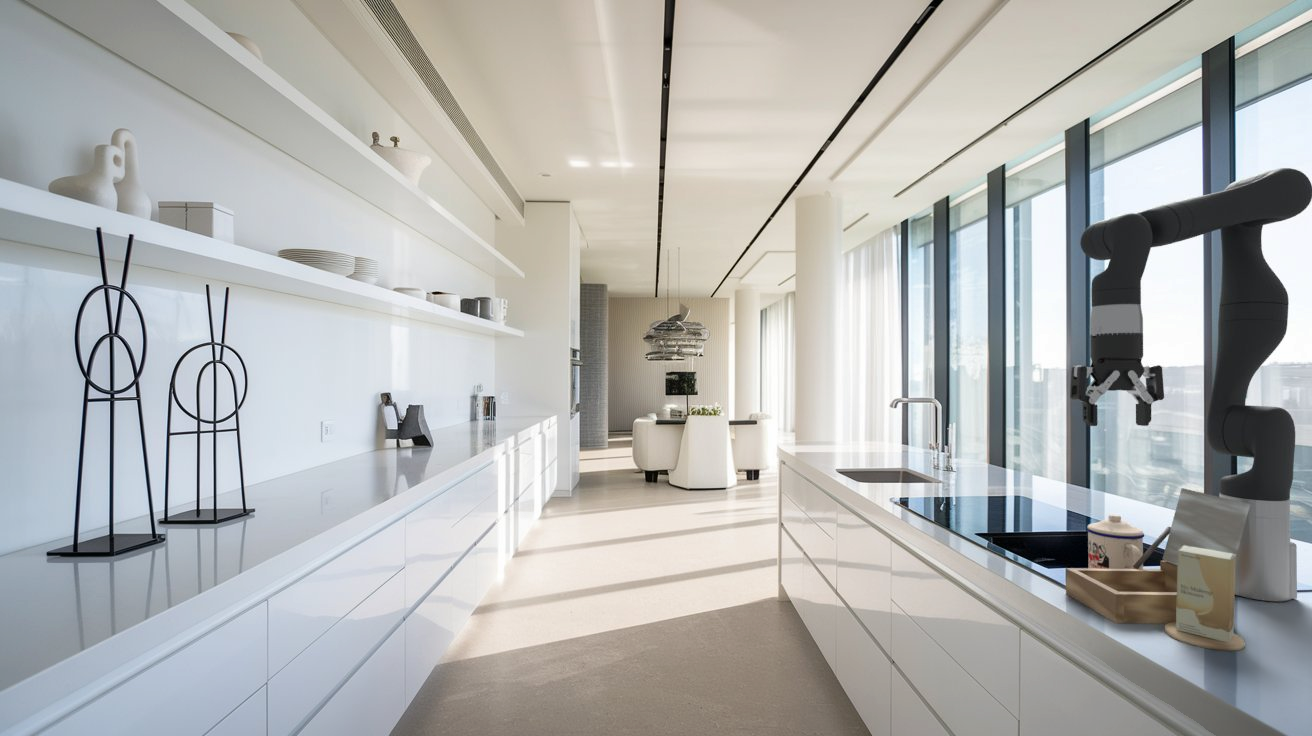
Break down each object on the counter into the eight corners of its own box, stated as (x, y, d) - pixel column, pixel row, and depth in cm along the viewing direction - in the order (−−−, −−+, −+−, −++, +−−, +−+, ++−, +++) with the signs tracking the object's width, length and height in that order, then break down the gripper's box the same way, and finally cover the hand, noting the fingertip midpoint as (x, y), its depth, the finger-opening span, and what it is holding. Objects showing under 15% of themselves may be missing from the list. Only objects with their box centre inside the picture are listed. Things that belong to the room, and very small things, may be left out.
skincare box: (1175, 631, 97) (1174, 549, 97) (1181, 623, 100) (1180, 544, 100) (1232, 644, 92) (1231, 558, 92) (1236, 636, 95) (1236, 552, 95)
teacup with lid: (1077, 567, 130) (1077, 509, 130) (1126, 569, 129) (1125, 510, 129) (1112, 587, 118) (1111, 523, 119) (1166, 589, 117) (1165, 524, 117)
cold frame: (1182, 593, 115) (1181, 486, 115) (1252, 624, 101) (1251, 503, 101) (1063, 591, 116) (1062, 486, 116) (1115, 622, 102) (1114, 502, 102)
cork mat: (1210, 626, 101) (1210, 622, 101) (1262, 651, 92) (1261, 646, 92) (1150, 625, 101) (1150, 621, 101) (1195, 650, 92) (1195, 645, 92)
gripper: (1143, 333, 116) (1144, 423, 116) (1061, 333, 117) (1062, 423, 117) (1174, 330, 108) (1175, 427, 108) (1087, 331, 109) (1087, 427, 109)
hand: (1116, 425), depth 112 cm, fingers open, 8 cm apart
